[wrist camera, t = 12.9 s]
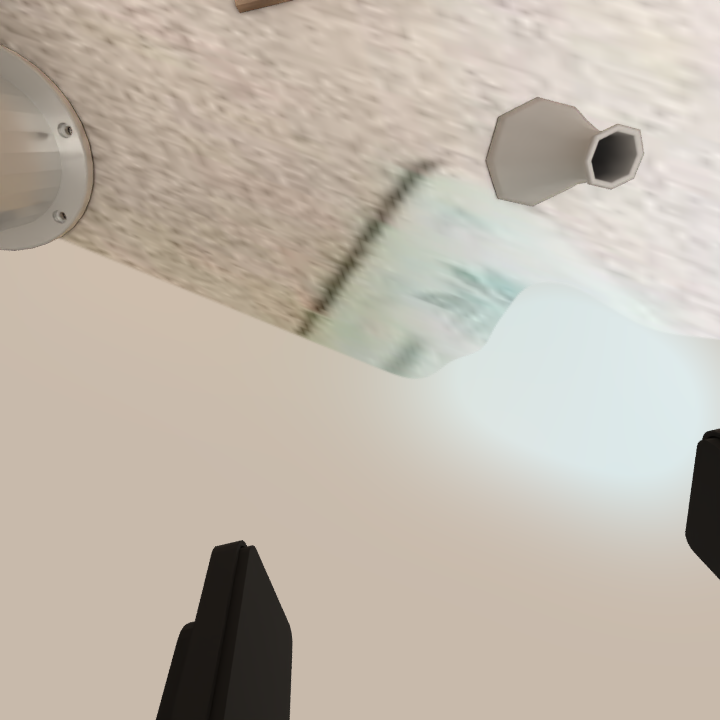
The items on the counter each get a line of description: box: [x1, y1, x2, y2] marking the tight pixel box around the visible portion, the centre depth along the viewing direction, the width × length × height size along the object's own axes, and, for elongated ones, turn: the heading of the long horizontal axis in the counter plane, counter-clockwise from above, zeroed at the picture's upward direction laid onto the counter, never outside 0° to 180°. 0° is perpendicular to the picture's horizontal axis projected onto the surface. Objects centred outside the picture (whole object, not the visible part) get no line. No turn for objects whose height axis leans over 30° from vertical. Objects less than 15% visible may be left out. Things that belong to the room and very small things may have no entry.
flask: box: [486, 97, 644, 206], centre depth 29 cm, size 7×7×10 cm
